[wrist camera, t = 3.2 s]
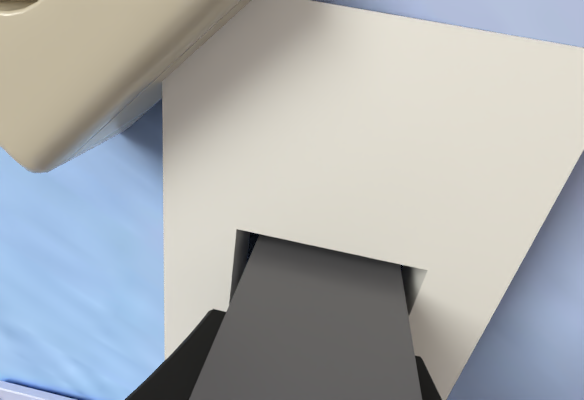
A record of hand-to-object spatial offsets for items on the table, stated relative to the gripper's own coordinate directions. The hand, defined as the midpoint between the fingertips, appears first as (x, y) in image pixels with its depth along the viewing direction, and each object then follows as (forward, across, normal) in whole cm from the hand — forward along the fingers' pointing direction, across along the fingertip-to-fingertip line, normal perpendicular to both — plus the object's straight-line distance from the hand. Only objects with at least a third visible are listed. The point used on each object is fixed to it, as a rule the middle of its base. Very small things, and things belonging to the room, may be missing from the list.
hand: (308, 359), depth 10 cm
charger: (+3, 0, 0) cm, 3 cm away
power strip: (+3, 0, +3) cm, 5 cm away
